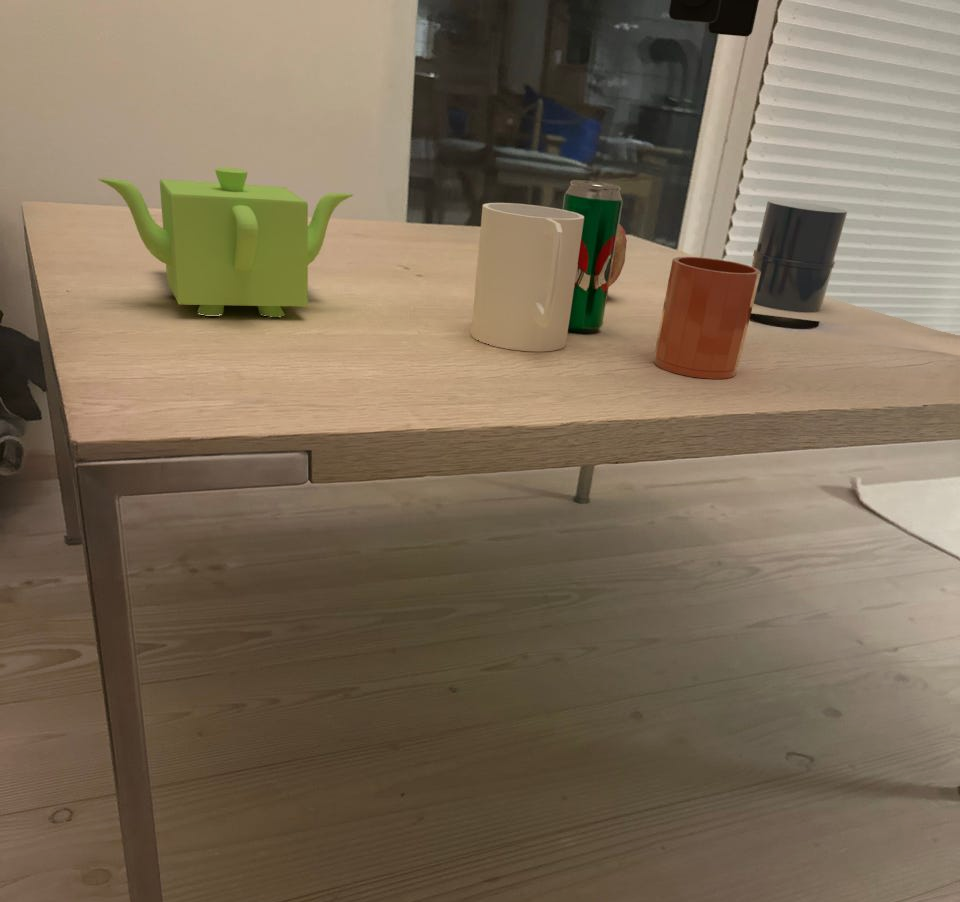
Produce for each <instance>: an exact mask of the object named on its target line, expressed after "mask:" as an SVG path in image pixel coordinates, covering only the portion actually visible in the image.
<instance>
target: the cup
mask: <svg viewBox="0 0 960 902" xmlns="http://www.w3.org/2000/svg"><path fill="white" fill-rule="evenodd" d="M583 223H584V216H583V215H581V214H578V213H575V212H571V211H566V210H562V208H556V207H550V206H542V205H534V204H526V203H513V202H512V203H511V202H488V203H483V204H482V209H481V219H480V231H479V241H478V242H479V243H478V252H477V264H476V273H475V284H474V285H475V286H474V295H473V297H474V298H473V307H472V317H471V318H472V319H471V329H470V335H471V337H472V338H473V339H474V340H476V341H478V340H479V341H478V342H480V343H482V344H485V343H486V344H485V345H488V344H489V345H488V346H492V347H496V348H501V349H507V350H512V351H520V352H539V353H541V352H553V351H558V350H561V349H563V348H565V347H566V346H567V340H568V333H569V331H568V326H569V320H570V313H571V306H572V299H573V292H574V285H575V278H576V271H577V264H578V257H579V250H580V243H581V236H582V229H583Z"/></svg>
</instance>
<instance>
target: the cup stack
mask: <svg viewBox="0 0 960 902" xmlns="http://www.w3.org/2000/svg"><path fill="white" fill-rule="evenodd" d="M765 207H766V208H765V212H764V216H763V221H762V223H761V224H762V225H761V229H760V233H759V237H758V241H757V245H756V249H754V251H753V252H752V253H753V254H752V256H753V258H752V263H751V265H750V266H751V267H754V268H757V269H759V270H760V271H761V274H760V278H759V283H758V287H757V291H756V295H755V299H754V303H753V305H757V306H760V307H765V308H770V309H774V310H780V311H785V312H794V313H818V312H821V311H822V308H823V305H824V301H825V297H826V293H827V290H828V287H829V284H830V283H829V282H830V280H831V276H832V272H833V269H834V268H835V265H836V261H835V258H836V254H837V250H838V247H839V243H840V239H841V237H842V232H843V228H844V225H845V221H846V217H847V215H848V211H847V210H845V209H841V208H837V207H834V206H833V207H832V206H826V205H820V204H816V203H815V204H814V203H808V202H799V201H791V200H780V199H779V200H778V199H777V200H775V199H773V200H771V199H770V200H767V202H766V206H765ZM749 321H752V322H755V323H759V324H762V325H763V324H764V325H766V326H771V327H778V328H786V329H795V330H811V329H816V328H818V327H819V326H820V321H819V320H811V319H803V318H794V317H786V316H777V315H769V314H761V313H752V312H751V316H750V320H749Z"/></svg>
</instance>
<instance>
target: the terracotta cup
mask: <svg viewBox="0 0 960 902" xmlns="http://www.w3.org/2000/svg"><path fill="white" fill-rule="evenodd" d="M751 266H752V265H748V264H744V263H740V262H736V261H730V260H725V259H718V258H710V257H703V256H677V257H675V258H672V261H671V267H670V271H669V276H668V282H667V287H666V292H665V298H664V302H663V307H662V312H661V318H660V323H659V328H658V334H657V337H656V338H657V339H656V343H655V349H654V357H653V363H654V364H655V365H656V366H657V367H658V368H660V369H662V370H665V371H667V372H671V373H674V374H678V375H681V376H686V377H691V378H698V379H706V380H707V379H709V380H722V379H723V380H724V379H729V378H732V377H734V376H736V374H737V370H738V367H739V364H740V360H741V358H742V357H741V356H742V352H743V349H744V344H745V340H746V335H747V332H748V327H749V323H750V321H751V320H750V316H751V313H752V311H753V307H754V299H755V295H756V291H757V287H758V283H759V278H760V274H761V271H760V270H759V269H757V268H754V267H751Z"/></svg>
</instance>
